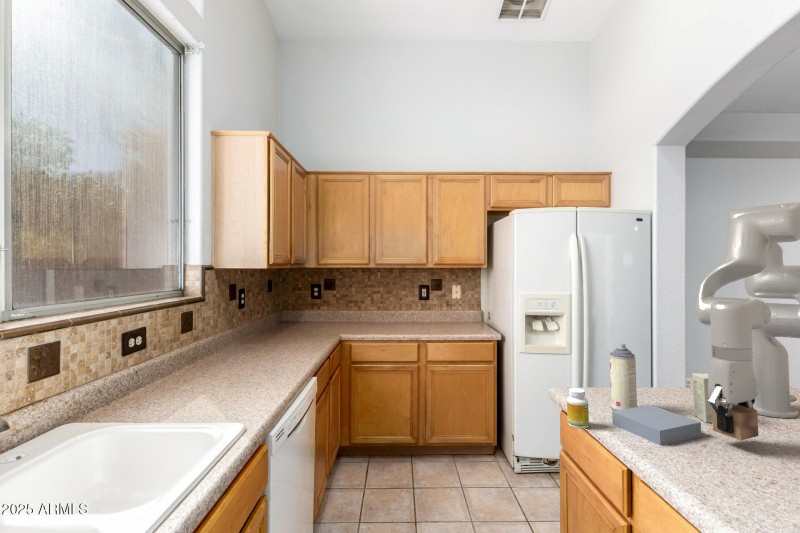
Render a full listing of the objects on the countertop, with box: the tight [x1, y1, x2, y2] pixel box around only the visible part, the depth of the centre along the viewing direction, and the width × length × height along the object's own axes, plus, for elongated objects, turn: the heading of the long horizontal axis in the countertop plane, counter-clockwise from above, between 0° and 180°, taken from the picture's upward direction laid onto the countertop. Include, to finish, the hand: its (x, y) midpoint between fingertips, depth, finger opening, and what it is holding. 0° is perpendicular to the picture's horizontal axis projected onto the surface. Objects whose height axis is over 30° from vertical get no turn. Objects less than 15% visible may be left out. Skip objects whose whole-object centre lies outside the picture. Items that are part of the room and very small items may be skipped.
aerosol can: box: [609, 343, 638, 411], centre depth 119 cm, size 7×7×20 cm
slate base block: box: [611, 404, 702, 446], centre depth 104 cm, size 14×14×4 cm
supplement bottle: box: [566, 387, 590, 430], centre depth 108 cm, size 5×5×10 cm
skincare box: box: [691, 372, 713, 424], centre depth 110 cm, size 6×4×12 cm
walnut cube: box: [712, 404, 759, 442], centre depth 93 cm, size 6×6×6 cm
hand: (735, 428), depth 93 cm, fingers closed on walnut cube, 6 cm apart
